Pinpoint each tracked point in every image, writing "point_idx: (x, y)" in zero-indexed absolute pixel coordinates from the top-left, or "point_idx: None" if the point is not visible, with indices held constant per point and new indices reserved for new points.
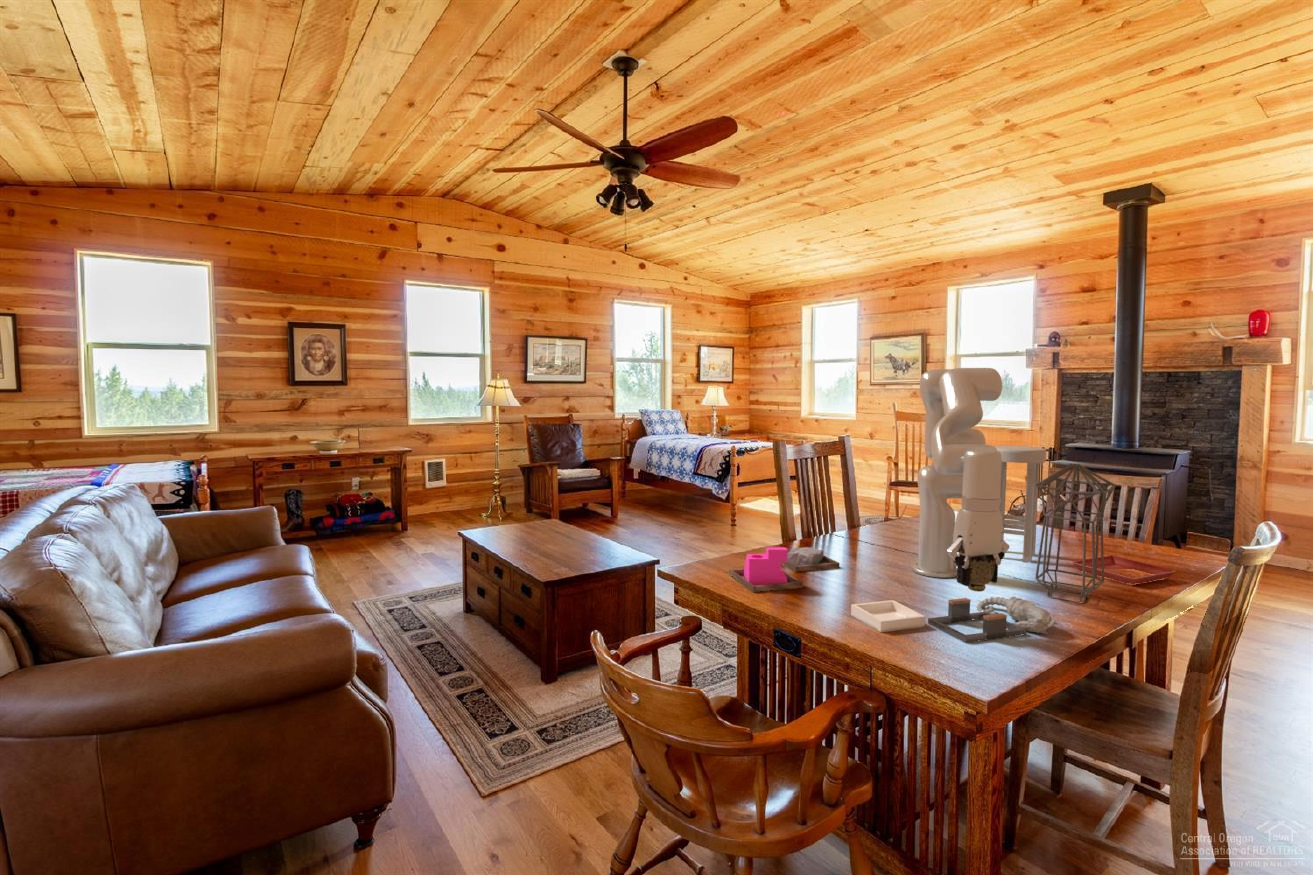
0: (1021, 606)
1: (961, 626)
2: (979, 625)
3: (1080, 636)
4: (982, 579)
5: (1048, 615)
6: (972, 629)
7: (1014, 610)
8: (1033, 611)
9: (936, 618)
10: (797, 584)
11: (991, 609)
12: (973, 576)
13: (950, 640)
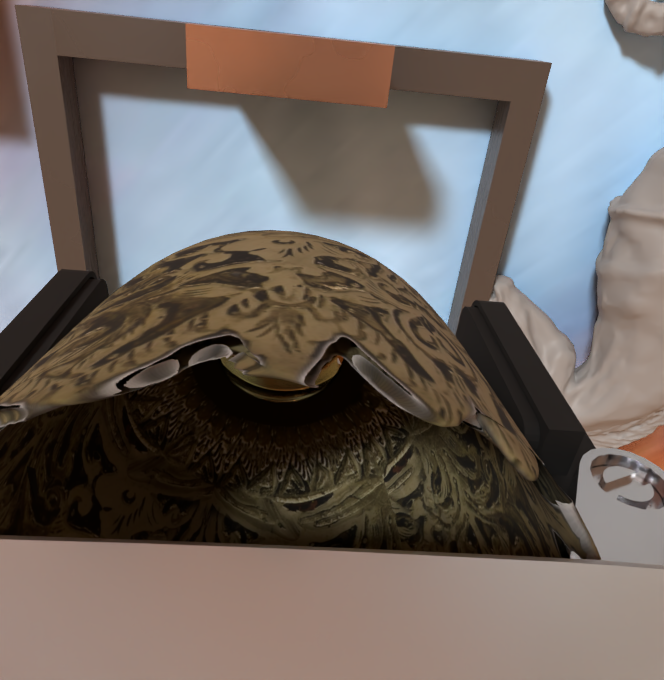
0: (649, 297)
1: (233, 147)
2: (356, 176)
3: (659, 443)
4: (212, 514)
5: (641, 420)
6: (261, 211)
7: (629, 241)
8: (630, 365)
9: (82, 35)
10: None
11: (652, 31)
12: (123, 494)
13: (20, 289)
